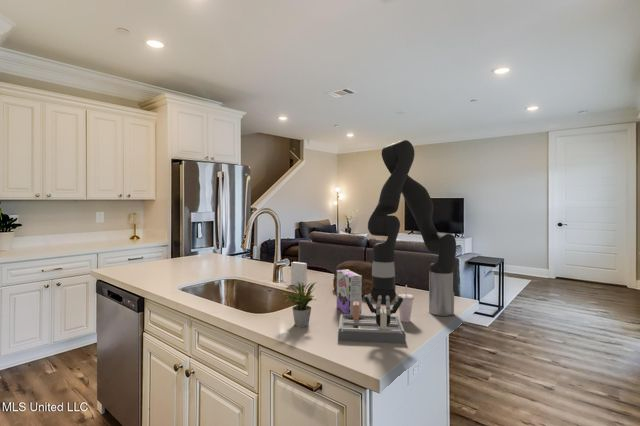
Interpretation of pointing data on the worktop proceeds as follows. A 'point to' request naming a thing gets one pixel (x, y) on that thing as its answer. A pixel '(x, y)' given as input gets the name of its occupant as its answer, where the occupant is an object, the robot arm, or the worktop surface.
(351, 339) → the console
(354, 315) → the block
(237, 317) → the worktop surface
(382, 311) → the fader near
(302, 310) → the house plant
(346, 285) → the candy box
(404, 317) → the smoothie
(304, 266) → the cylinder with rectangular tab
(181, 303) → the worktop surface
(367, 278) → the bread
